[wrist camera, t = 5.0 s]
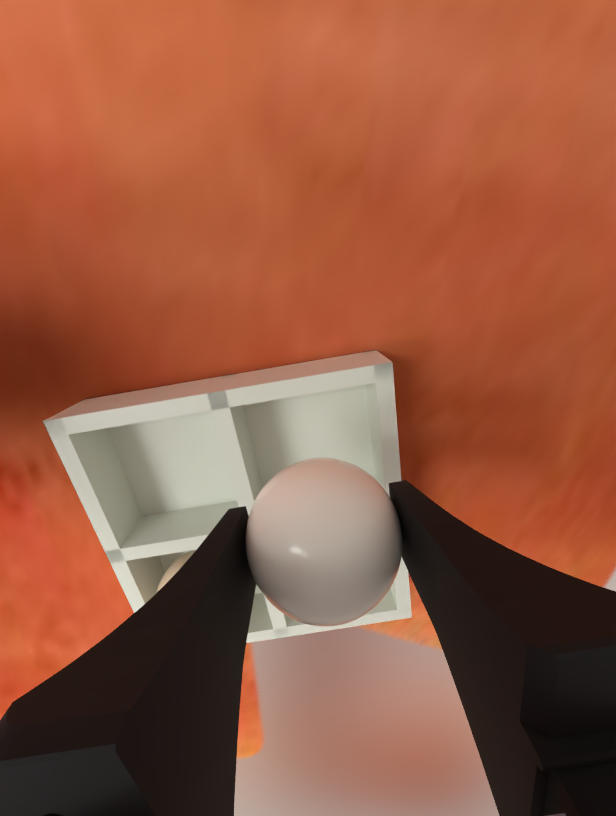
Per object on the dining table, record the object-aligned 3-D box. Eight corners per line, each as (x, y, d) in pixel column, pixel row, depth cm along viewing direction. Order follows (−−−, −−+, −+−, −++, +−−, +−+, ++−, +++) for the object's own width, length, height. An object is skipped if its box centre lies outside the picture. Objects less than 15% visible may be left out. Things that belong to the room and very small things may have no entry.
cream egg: (269, 548, 14) (255, 680, 9) (243, 445, 12) (208, 540, 8) (386, 531, 14) (430, 655, 9) (375, 423, 12) (423, 508, 7)
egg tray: (172, 610, 22) (155, 657, 20) (84, 399, 17) (42, 421, 14) (396, 575, 22) (411, 617, 19) (376, 350, 17) (392, 361, 14)
